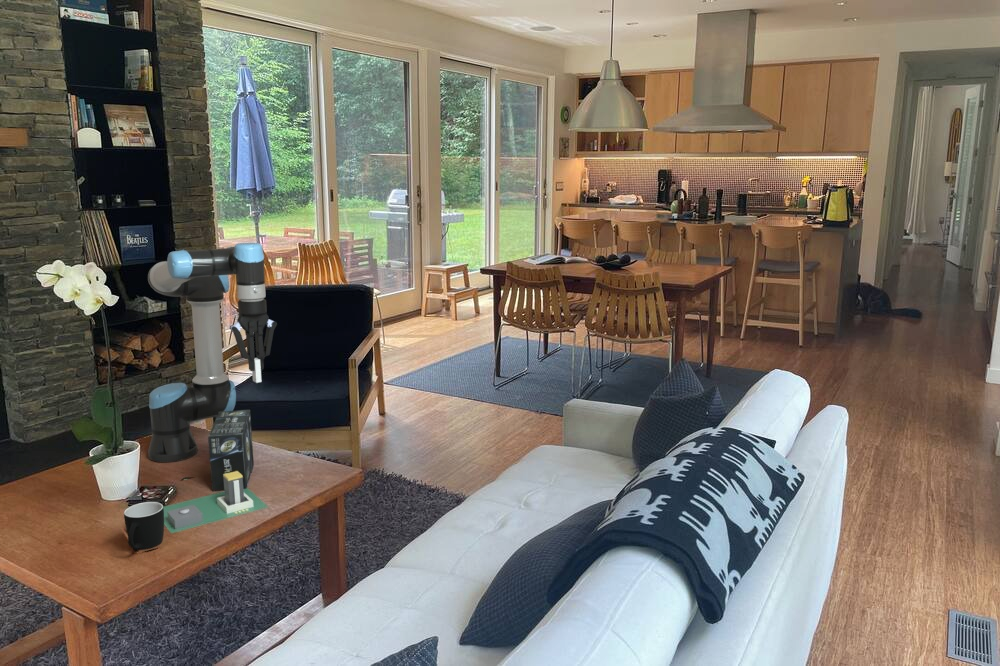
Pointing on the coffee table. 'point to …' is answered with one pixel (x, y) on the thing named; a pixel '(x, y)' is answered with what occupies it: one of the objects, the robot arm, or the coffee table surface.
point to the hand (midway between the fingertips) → (257, 381)
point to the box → (231, 447)
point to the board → (207, 510)
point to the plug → (233, 488)
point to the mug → (144, 525)
